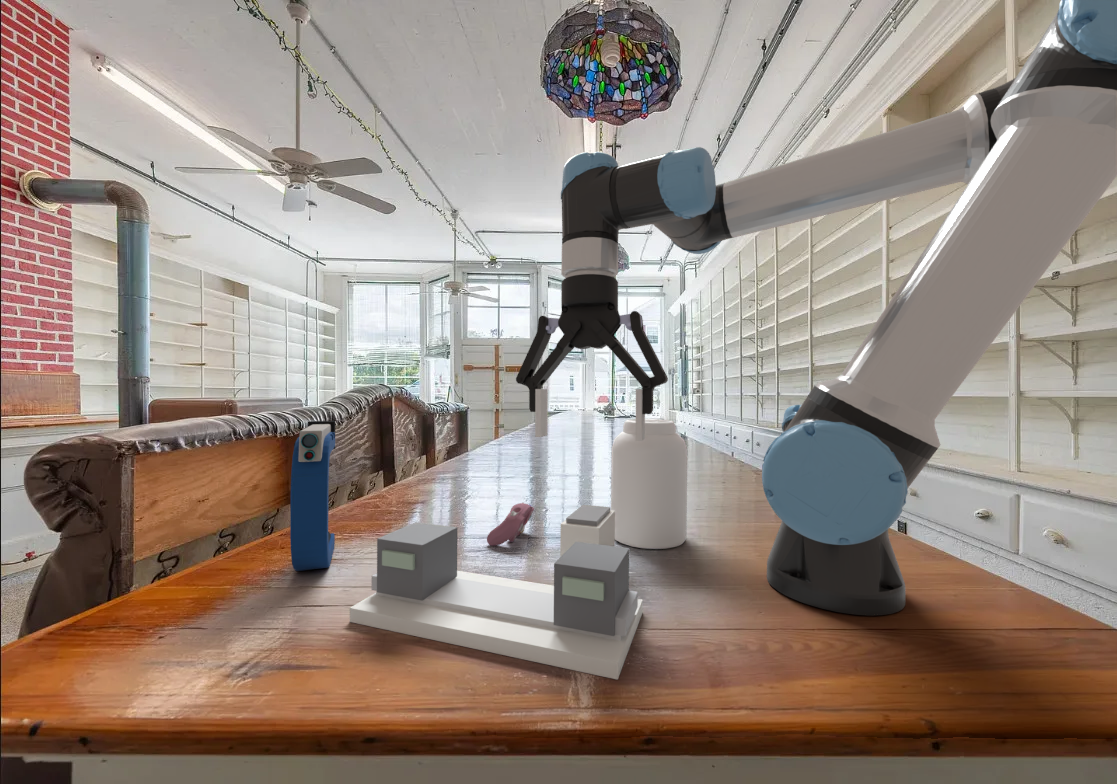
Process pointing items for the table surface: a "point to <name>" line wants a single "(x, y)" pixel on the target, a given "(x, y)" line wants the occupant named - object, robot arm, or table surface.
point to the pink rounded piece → (511, 525)
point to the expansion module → (588, 527)
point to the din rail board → (506, 602)
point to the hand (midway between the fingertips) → (589, 438)
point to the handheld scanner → (311, 497)
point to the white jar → (649, 486)
